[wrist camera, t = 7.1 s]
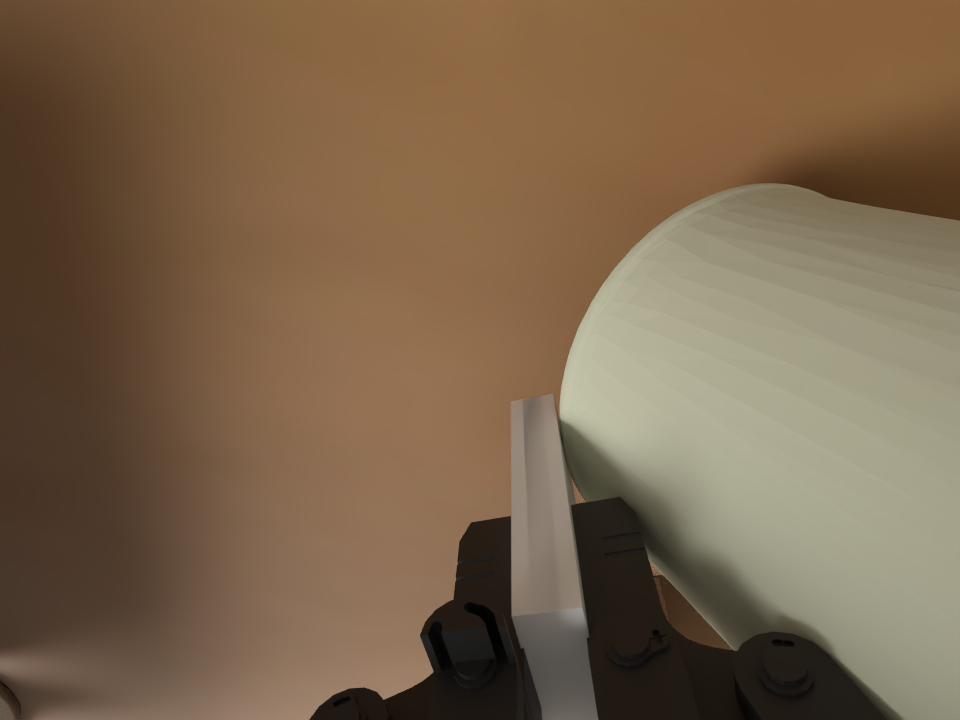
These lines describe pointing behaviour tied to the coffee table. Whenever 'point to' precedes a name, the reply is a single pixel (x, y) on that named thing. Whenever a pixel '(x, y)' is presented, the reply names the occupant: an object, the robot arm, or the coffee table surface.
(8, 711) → the hinge post
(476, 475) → the coffee table surface
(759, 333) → the can
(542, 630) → the robot arm
